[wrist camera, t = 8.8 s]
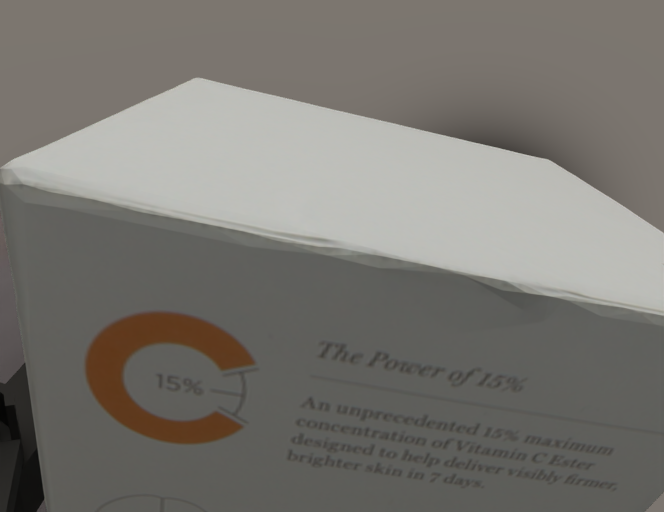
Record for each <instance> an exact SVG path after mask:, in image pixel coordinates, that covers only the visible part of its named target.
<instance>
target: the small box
mask: <svg viewBox="0 0 664 512" xmlns="http://www.w3.org/2000/svg"><path fill="white" fill-rule="evenodd" d="M0 210H1V216H2V222H3V227H4V233H5V238H6V244H7V250H8V255H9V261H10V267H11V273H12V279H13V285H14V291H15V297H16V307H17V316H18V321H19V327H20V332H21V337H22V344H23V350H24V357H25V364H26V370H27V377H28V384H29V391H30V398H31V406H32V413H33V420H34V427H35V434H36V441H37V448H38V455H39V462H40V469H41V477H42V484H43V491H44V498H45V504H46V510H47V512H645V511H646V509H648V508H649V507H650V506H651V505H652V504H653V502H654V501H655V500H656V499H657V498H658V497H659V496H660V495H661V494H662V493H663V492H664V233H662V232H661V231H659V230H658V229H657V228H655V227H654V226H652V225H650V224H649V223H647V222H646V221H644V220H643V219H642V218H640V217H639V216H637V215H636V214H634V213H632V212H631V211H630V210H628V209H627V208H625V207H624V206H622V205H621V204H619V203H618V202H616V201H614V200H613V199H611V198H610V197H608V196H606V195H604V194H603V193H601V192H600V191H598V190H597V189H595V188H593V187H592V186H590V185H589V184H587V183H585V182H584V181H583V180H581V179H579V178H578V177H576V176H575V175H573V174H571V173H569V172H568V171H566V170H565V169H563V168H561V167H560V166H558V165H556V164H555V163H553V162H552V161H550V160H548V159H543V158H537V157H533V156H529V155H525V154H521V153H516V152H512V151H508V150H504V149H499V148H495V147H491V146H487V145H482V144H478V143H474V142H470V141H465V140H461V139H456V138H452V137H448V136H444V135H439V134H435V133H431V132H427V131H423V130H418V129H414V128H410V127H406V126H401V125H397V124H393V123H389V122H385V121H380V120H376V119H372V118H367V117H363V116H359V115H354V114H350V113H346V112H341V111H337V110H333V109H328V108H324V107H320V106H316V105H312V104H308V103H303V102H299V101H295V100H291V99H286V98H282V97H278V96H274V95H269V94H265V93H261V92H256V91H252V90H248V89H244V88H239V87H235V86H230V85H226V84H223V83H218V82H214V81H210V80H206V79H202V78H194V79H192V80H190V81H188V82H185V83H183V84H181V85H179V86H177V87H175V88H173V89H170V90H168V91H166V92H164V93H162V94H160V95H157V96H155V97H152V98H150V99H147V100H146V101H143V102H141V103H139V104H137V105H135V106H132V107H130V108H128V109H126V110H123V111H121V112H119V113H117V114H115V115H113V116H110V117H108V118H106V119H104V120H102V121H100V122H97V123H95V124H93V125H91V126H89V127H86V128H84V129H82V130H80V131H77V132H75V133H73V134H71V135H69V136H67V137H65V138H62V139H60V140H58V141H56V142H53V143H51V144H49V145H47V146H45V147H42V148H40V149H37V150H35V151H32V152H30V153H28V154H25V155H23V156H20V157H18V158H15V159H13V160H12V161H10V162H9V163H7V164H6V165H4V166H3V167H1V168H0Z"/></svg>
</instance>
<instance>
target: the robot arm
mask: <svg viewBox="0 0 664 512" xmlns="http://www.w3.org/2000/svg"><path fill="white" fill-rule="evenodd" d="M43 500H44V491H43V484H42V477H41V469H40V462H39V455H38V448H37V441H36V434H35V427H34V420H33V413H32V406H31V398H30V391H29V384H28V377H27V370H26V364H25V363H24V364H23V365H22V367H21V368H20V369H19V370H18V371H17V372H16V373H15V374H14V375H13V376H12V378H11V379H10V380H9V381H8V382H7V383H6V384H3V383H0V512H36V511H37V510H38V508H39V507H40V505H41V503H42V502H43Z"/></svg>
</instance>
